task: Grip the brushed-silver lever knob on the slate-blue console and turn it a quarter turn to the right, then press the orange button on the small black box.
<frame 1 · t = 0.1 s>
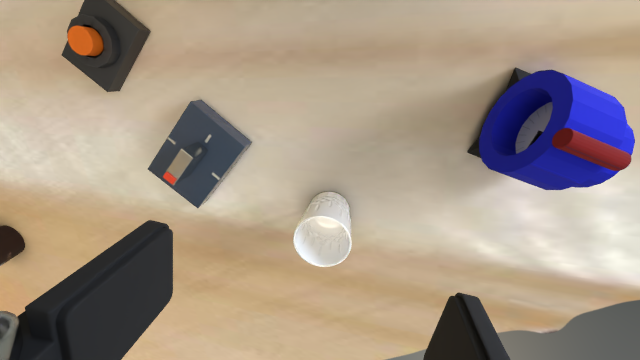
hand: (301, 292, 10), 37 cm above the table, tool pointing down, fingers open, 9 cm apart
console: (203, 153, 49), on the table
button box: (112, 43, 45), on the table
coffee mug: (5, 239, 62), on the table
white cup: (329, 209, 50), on the table
knob: (185, 163, 44), point 5 cm above the table, hinge at 0.0°
alarm clock: (525, 126, 41), on the table
button: (85, 41, 41), point 5 cm above the table, slide at 0.2 cm
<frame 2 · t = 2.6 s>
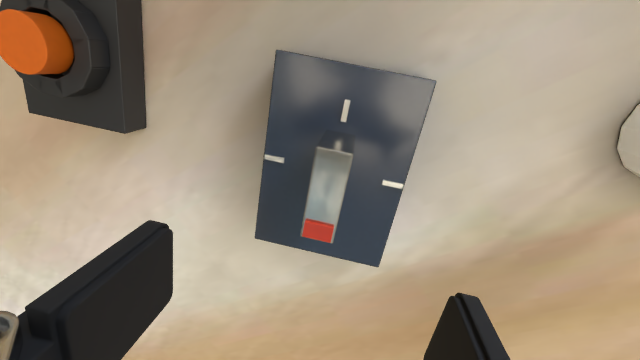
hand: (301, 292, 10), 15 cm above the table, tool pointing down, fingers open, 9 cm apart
console: (336, 158, 24), on the table
button box: (94, 47, 23), on the table
knob: (329, 183, 19), point 5 cm above the table, hinge at 0.0°
button: (34, 43, 19), point 5 cm above the table, slide at 0.2 cm
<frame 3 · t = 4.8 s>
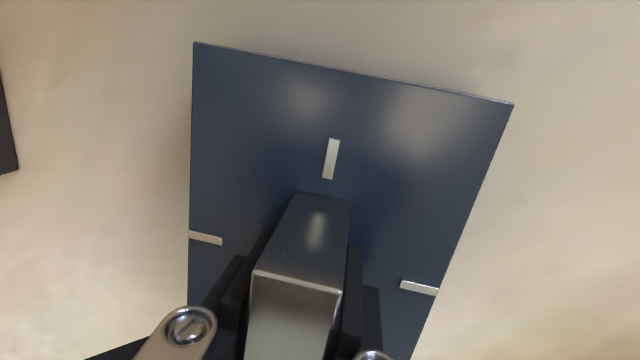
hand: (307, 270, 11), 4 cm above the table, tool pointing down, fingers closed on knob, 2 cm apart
console: (320, 223, 14), on the table
knob: (297, 307, 9), point 5 cm above the table, hinge at 0.0°, touching gripper
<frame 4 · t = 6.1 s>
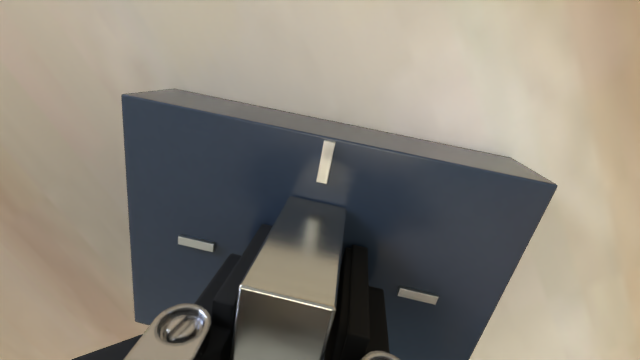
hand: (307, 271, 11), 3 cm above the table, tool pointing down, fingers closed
console: (316, 227, 14), on the table
knob: (290, 318, 9), point 5 cm above the table, hinge at -90.0°
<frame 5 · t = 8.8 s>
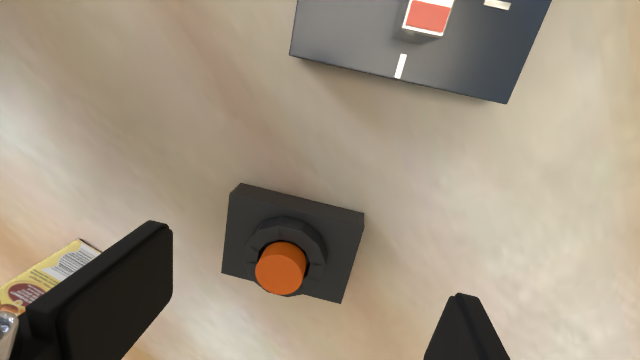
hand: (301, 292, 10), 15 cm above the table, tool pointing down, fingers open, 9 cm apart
console: (413, 0, 20), on the table
candy box: (86, 274, 32), on the table
button box: (293, 236, 27), on the table
button: (281, 267, 23), point 5 cm above the table, slide at 0.2 cm
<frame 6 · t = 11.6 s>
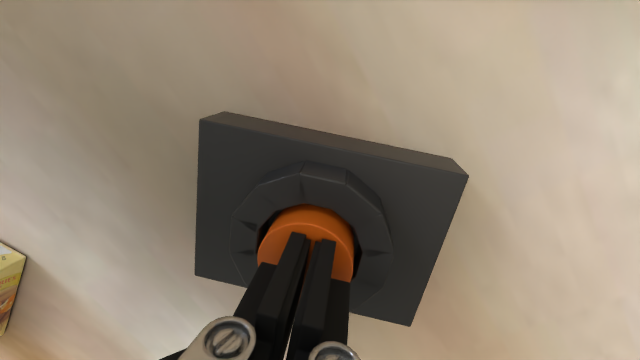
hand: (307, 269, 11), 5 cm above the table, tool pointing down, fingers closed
button box: (320, 208, 16), on the table
button: (308, 252, 12), point 4 cm above the table, slide at -0.5 cm, touching gripper
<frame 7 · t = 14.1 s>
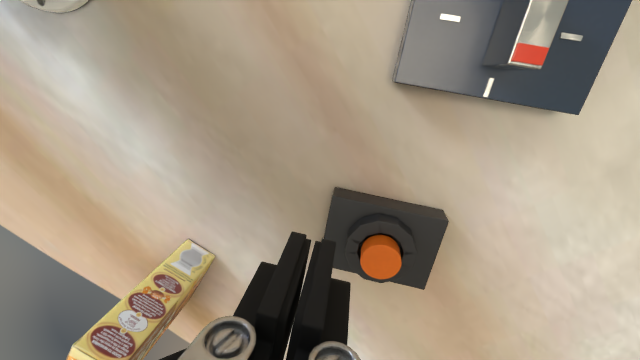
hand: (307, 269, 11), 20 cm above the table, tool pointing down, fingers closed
console: (493, 32, 24), on the table
candy box: (190, 269, 38), on the table
button box: (379, 232, 32), on the table
knob: (525, 21, 19), point 5 cm above the table, hinge at -90.1°
button: (380, 256, 28), point 5 cm above the table, slide at 0.1 cm
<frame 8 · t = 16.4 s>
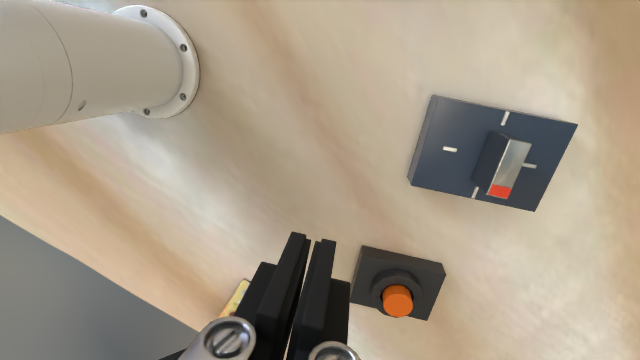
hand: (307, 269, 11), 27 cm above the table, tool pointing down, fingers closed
console: (478, 150, 35), on the table
candy box: (243, 301, 48), on the table
button box: (393, 277, 43), on the table
knob: (498, 163, 30), point 5 cm above the table, hinge at -90.1°
button: (397, 300, 38), point 5 cm above the table, slide at 0.1 cm
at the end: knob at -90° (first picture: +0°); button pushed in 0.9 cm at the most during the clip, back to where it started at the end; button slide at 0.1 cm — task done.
